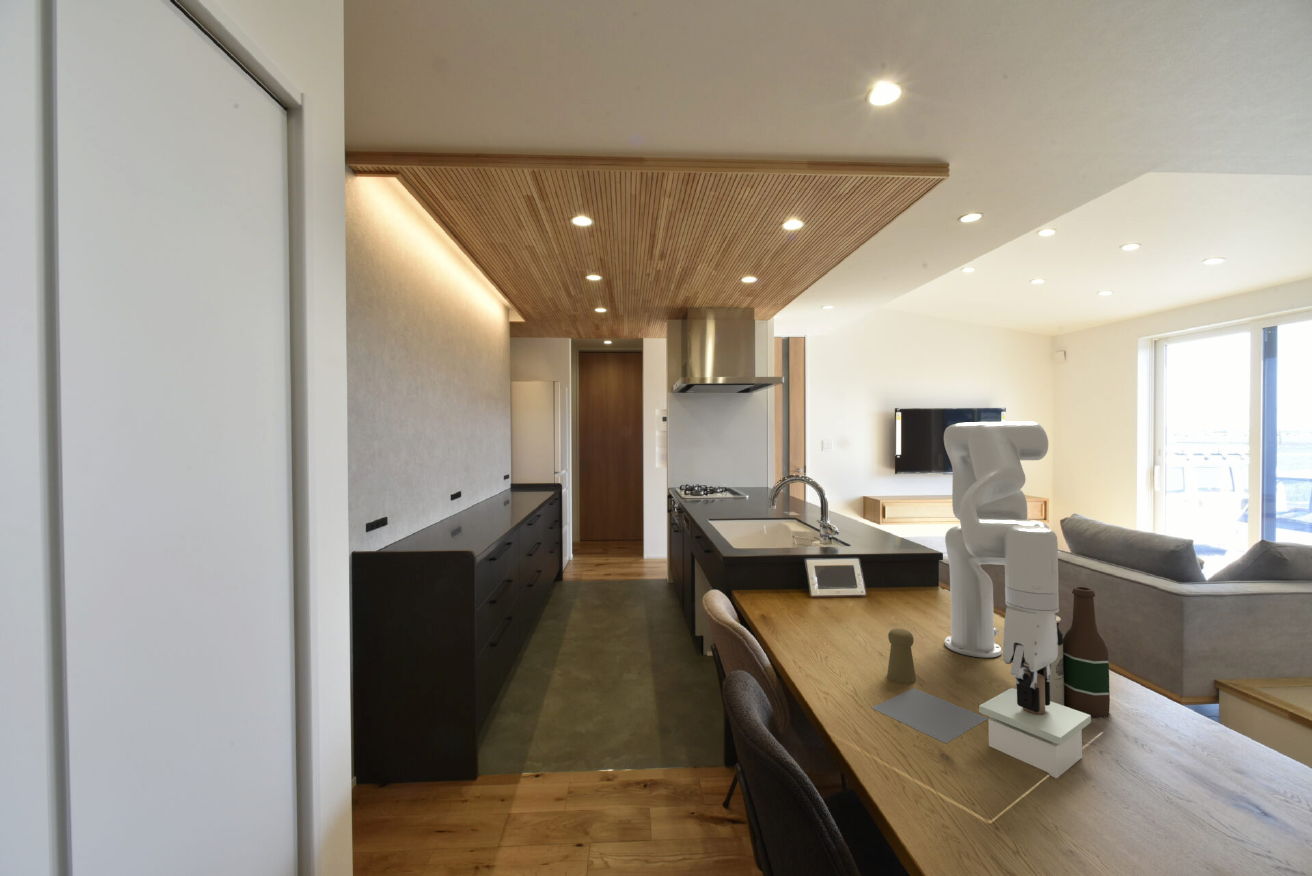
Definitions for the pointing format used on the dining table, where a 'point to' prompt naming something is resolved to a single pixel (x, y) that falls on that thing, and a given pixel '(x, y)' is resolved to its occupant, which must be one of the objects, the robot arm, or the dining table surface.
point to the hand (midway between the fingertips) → (1033, 704)
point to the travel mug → (1056, 672)
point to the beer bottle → (1085, 660)
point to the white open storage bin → (1035, 747)
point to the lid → (1037, 715)
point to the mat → (930, 714)
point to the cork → (901, 657)
